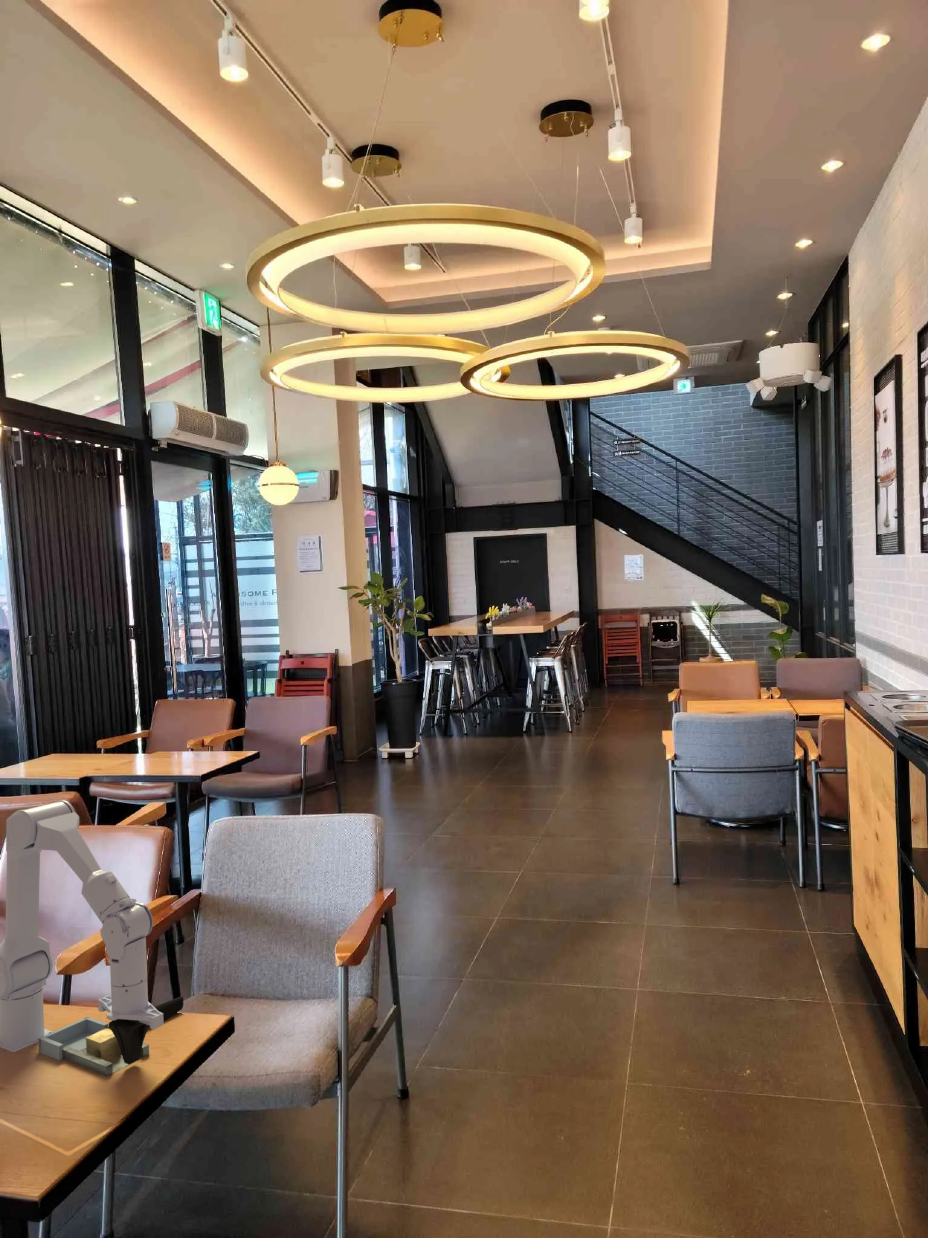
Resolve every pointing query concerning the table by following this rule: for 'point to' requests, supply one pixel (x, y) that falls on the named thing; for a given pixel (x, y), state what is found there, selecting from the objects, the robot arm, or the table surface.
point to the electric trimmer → (170, 1007)
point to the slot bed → (98, 1060)
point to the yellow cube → (103, 1045)
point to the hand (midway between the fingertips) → (132, 1061)
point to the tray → (69, 1037)
